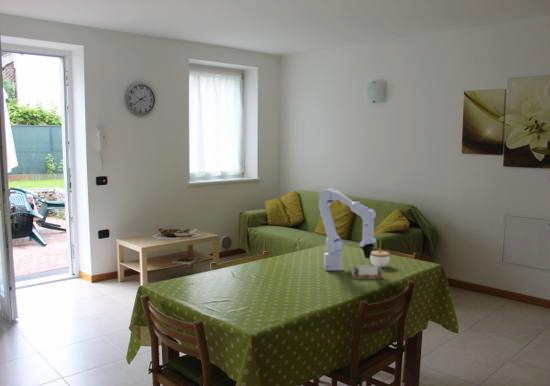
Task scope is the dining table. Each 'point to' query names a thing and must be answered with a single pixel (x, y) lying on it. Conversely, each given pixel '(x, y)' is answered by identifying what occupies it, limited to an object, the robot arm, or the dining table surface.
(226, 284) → the dining table surface
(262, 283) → the dining table surface
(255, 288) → the dining table surface
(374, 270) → the white bar
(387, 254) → the lidded jar
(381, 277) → the board
